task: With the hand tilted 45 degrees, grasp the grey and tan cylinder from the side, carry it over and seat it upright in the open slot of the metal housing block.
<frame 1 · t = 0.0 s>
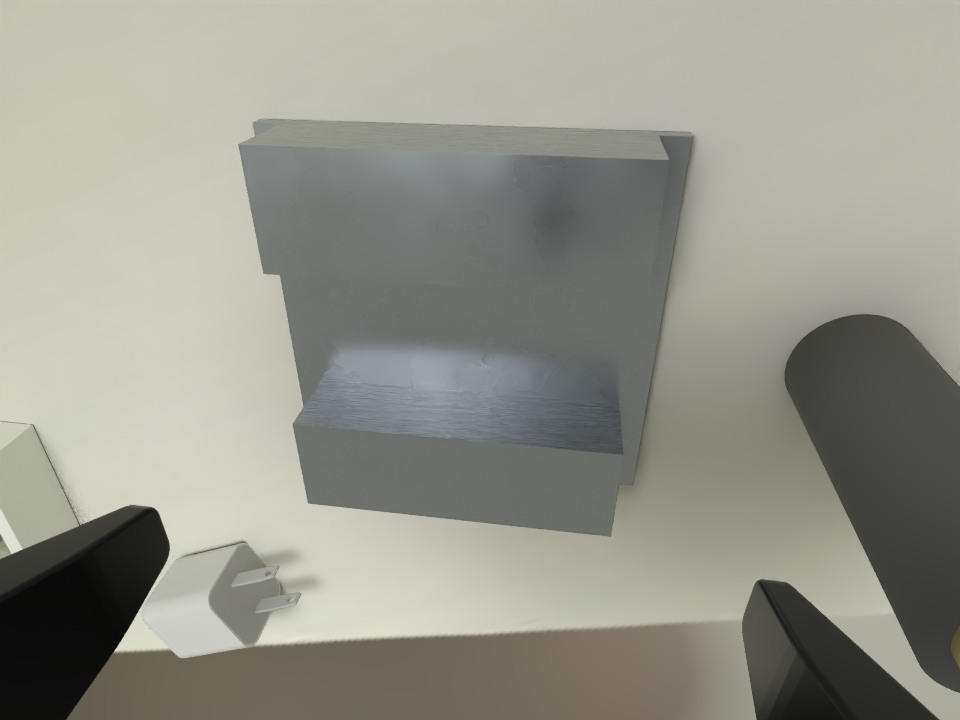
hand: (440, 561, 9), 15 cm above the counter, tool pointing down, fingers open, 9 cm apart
housing: (468, 317, 24), on the counter
grey and tan cylinder: (850, 368, 23), on the counter
usb wall charger: (253, 562, 34), on the counter
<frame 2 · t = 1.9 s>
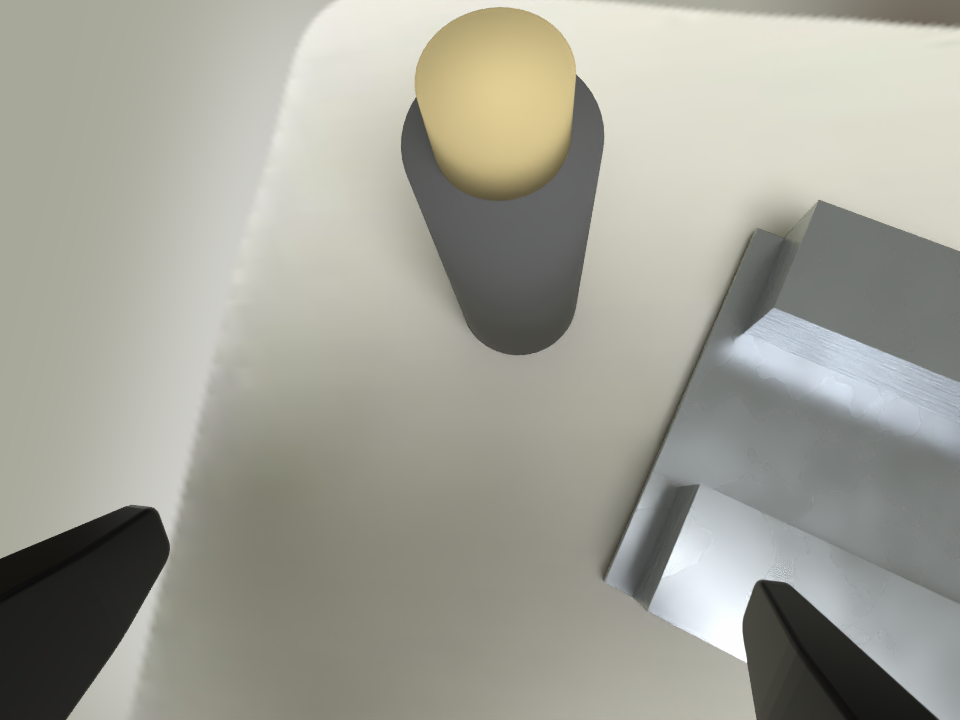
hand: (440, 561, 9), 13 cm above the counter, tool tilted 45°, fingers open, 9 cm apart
housing: (875, 485, 22), on the counter
grey and tan cylinder: (518, 299, 24), on the counter
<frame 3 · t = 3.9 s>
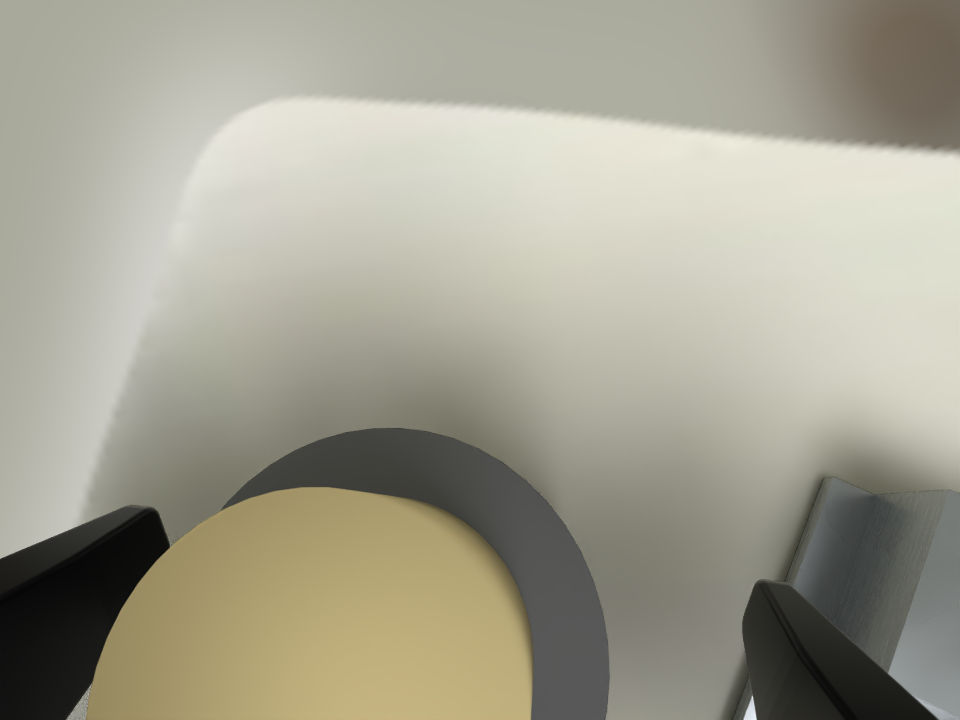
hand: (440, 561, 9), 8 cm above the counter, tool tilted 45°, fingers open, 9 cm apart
grey and tan cylinder: (482, 567, 17), on the counter
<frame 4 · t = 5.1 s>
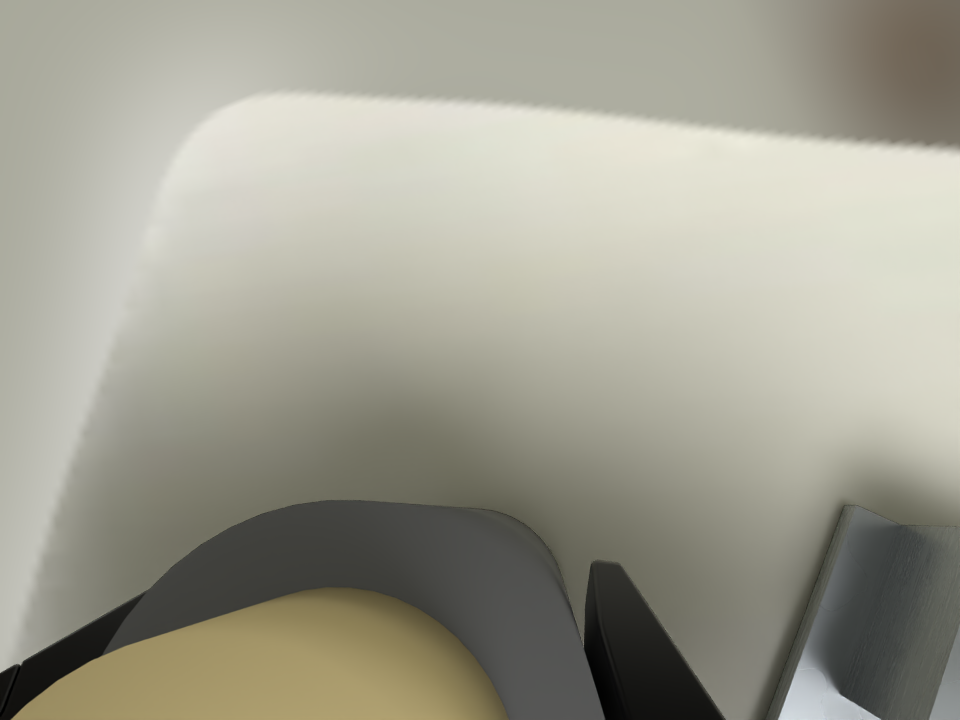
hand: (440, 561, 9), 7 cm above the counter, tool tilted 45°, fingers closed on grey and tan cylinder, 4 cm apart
grey and tan cylinder: (475, 600, 15), on the counter, touching gripper
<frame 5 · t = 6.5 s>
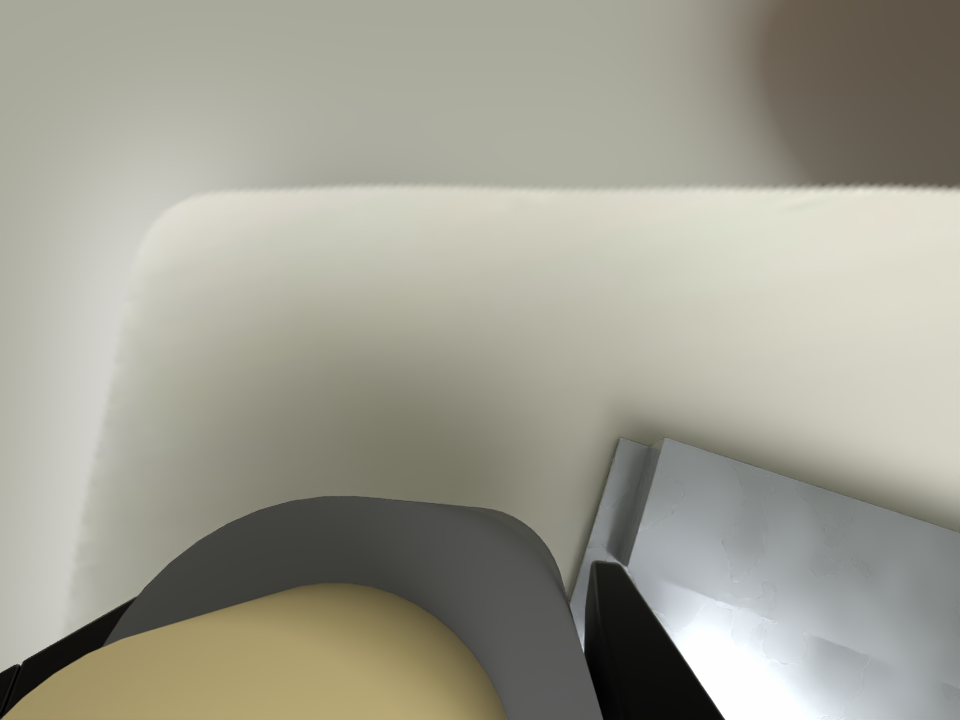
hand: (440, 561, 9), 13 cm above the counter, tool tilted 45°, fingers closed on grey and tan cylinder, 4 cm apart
housing: (768, 716, 20), on the counter
grey and tan cylinder: (474, 599, 15), point 7 cm above the counter, touching gripper
when the fingers open (8 cm above the counter, at t = 8.8 s): grey and tan cylinder stays where it is, resting on housing.
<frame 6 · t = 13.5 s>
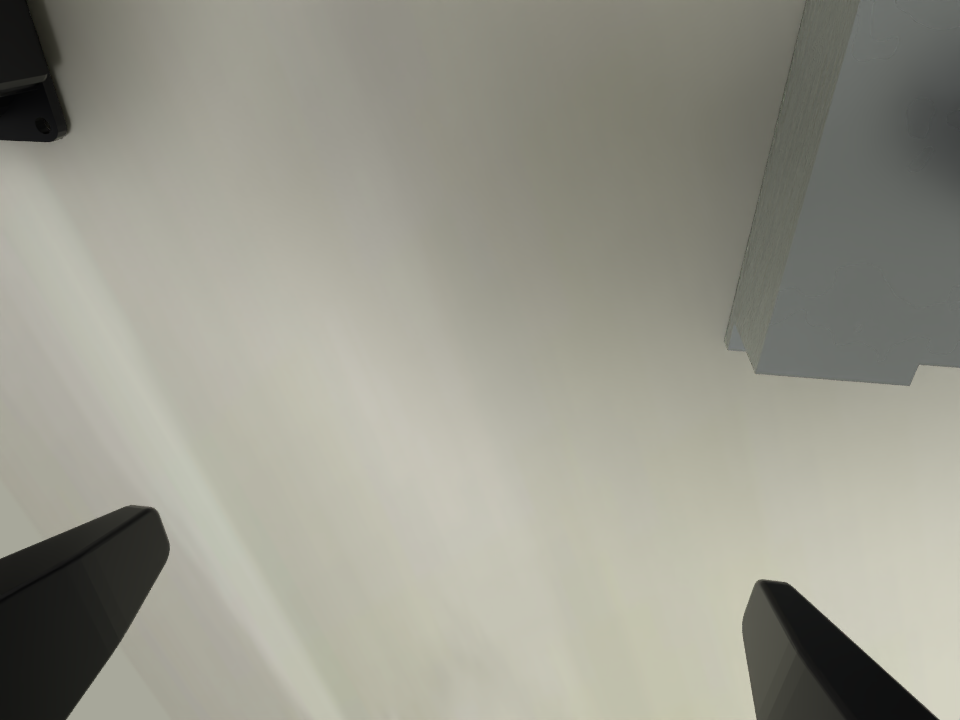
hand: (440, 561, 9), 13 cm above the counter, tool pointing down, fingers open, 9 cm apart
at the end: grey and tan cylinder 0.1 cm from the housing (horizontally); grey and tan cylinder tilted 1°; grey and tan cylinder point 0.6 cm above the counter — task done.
